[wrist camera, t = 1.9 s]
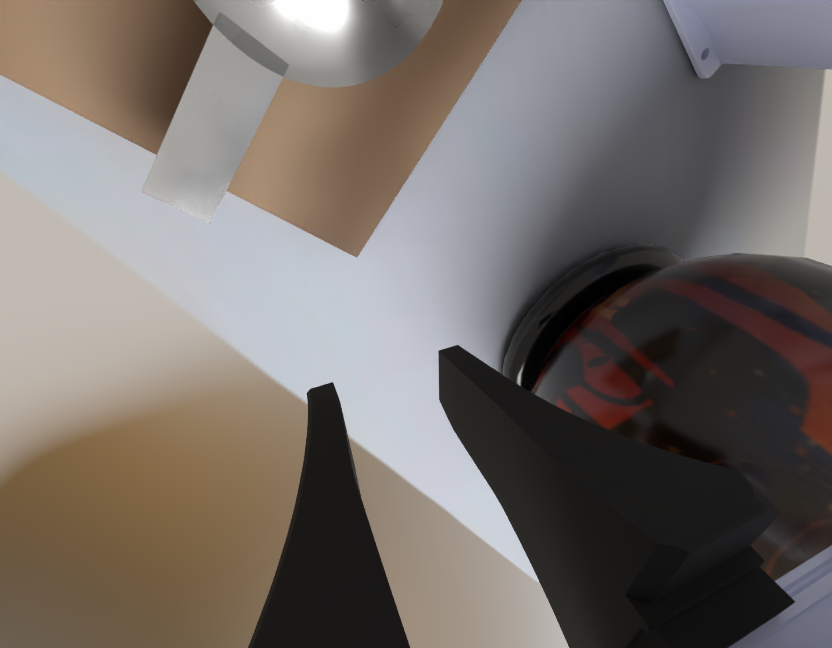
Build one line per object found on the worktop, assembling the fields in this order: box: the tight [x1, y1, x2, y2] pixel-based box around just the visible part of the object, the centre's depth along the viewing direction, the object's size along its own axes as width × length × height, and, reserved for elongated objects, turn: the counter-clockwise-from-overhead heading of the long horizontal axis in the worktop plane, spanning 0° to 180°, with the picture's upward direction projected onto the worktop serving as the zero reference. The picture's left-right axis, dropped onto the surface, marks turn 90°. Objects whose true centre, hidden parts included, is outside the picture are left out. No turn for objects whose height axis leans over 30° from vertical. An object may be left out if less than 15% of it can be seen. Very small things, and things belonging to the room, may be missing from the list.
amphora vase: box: [502, 244, 832, 581], centre depth 21 cm, size 22×22×28 cm
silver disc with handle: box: [141, 0, 443, 223], centre depth 11 cm, size 13×8×2 cm, turn 142°
